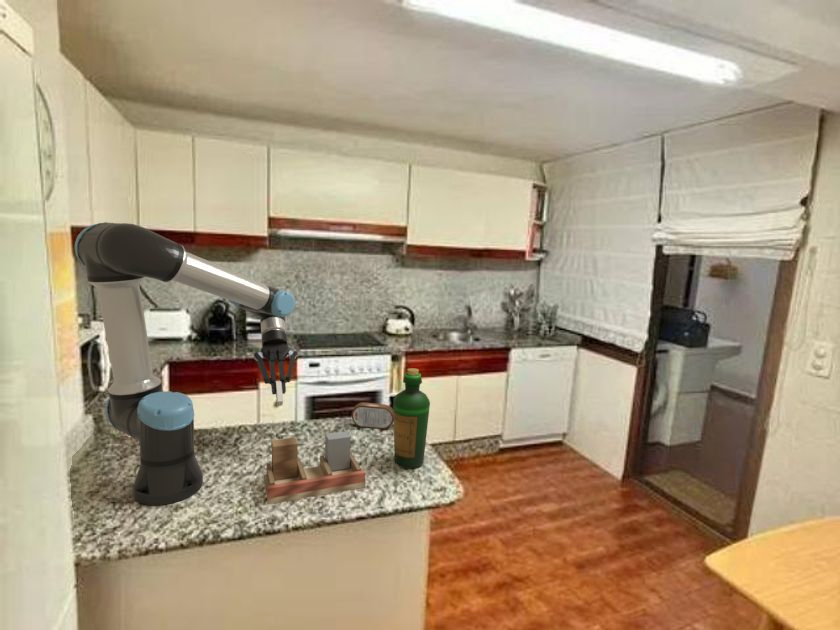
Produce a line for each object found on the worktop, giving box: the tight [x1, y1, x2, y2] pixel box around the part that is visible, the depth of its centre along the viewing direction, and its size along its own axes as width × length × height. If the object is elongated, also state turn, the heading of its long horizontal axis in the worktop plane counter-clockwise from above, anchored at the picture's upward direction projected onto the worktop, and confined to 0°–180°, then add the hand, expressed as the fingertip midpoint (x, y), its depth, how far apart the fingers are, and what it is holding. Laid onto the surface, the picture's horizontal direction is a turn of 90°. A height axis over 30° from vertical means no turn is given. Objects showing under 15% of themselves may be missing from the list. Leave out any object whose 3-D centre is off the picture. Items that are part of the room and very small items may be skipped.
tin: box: [351, 401, 394, 430], centre depth 156 cm, size 15×3×8 cm, turn 84°
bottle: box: [393, 367, 431, 469], centre depth 130 cm, size 11×11×28 cm
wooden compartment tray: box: [263, 451, 366, 505], centre depth 117 cm, size 24×12×4 cm, turn 114°
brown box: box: [271, 437, 299, 480], centre depth 118 cm, size 6×5×9 cm
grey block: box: [324, 430, 352, 471], centre depth 123 cm, size 6×5×9 cm
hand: (280, 403), depth 129 cm, fingers closed
